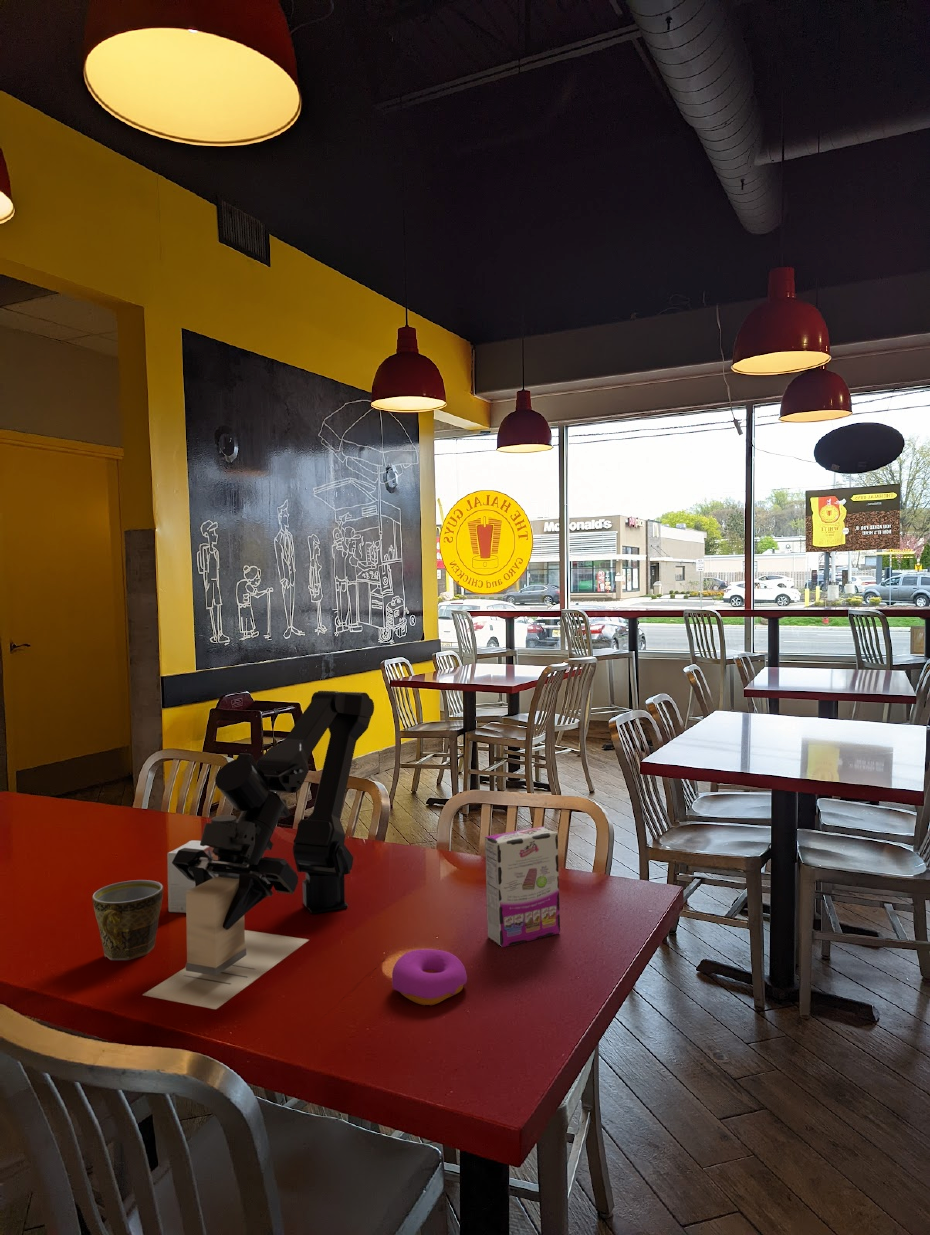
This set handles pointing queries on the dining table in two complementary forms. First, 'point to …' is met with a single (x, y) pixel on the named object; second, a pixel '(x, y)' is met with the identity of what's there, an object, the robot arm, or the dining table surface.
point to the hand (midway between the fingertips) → (209, 926)
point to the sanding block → (212, 927)
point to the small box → (182, 878)
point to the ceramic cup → (128, 917)
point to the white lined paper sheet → (228, 973)
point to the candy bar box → (522, 885)
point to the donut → (428, 976)
